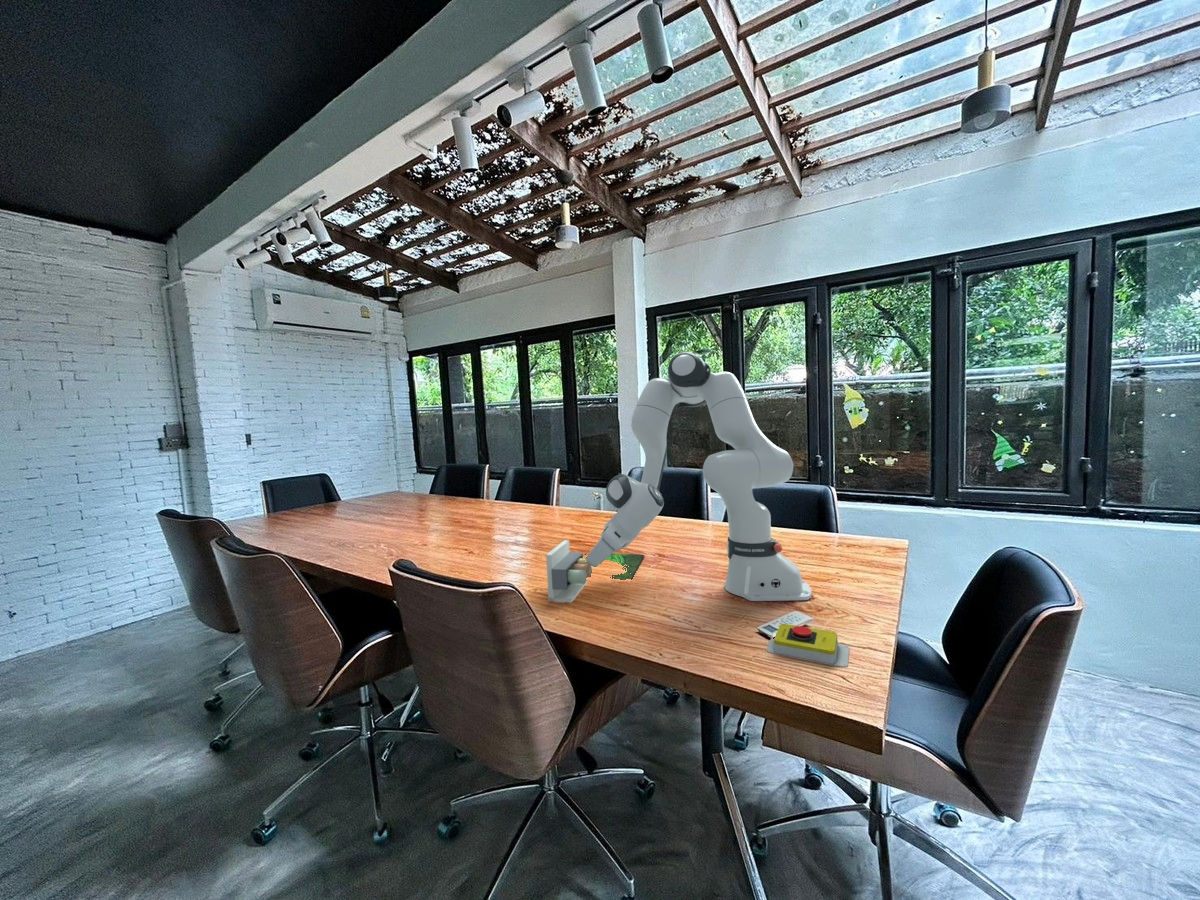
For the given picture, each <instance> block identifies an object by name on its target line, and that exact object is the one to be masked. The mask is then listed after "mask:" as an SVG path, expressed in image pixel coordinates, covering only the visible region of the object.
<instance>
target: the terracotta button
mask: <svg viewBox="0 0 1200 900" xmlns="http://www.w3.org/2000/svg"><path fill="white" fill-rule="evenodd" d="M572 569H573V570H586V574H587V577H591V573H592V567H591V565H590V564H573V565H572Z"/></svg>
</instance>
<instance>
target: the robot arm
mask: <svg viewBox="0 0 1200 900" xmlns="http://www.w3.org/2000/svg"><path fill="white" fill-rule="evenodd" d="M667 376H668V378H661V377H657V378H656V377H655V378H652V379H650V380H649V381H647V383H646V385H645V386H644V388H643V390H642V391H641V394H640V396H639V398H638V401H637V402H636V404H635V408H634V410H633V414H632V417H631V425H630V426H631V429H632V433H633V435H634V436H635V438H636V439H637V440H638V442H639V444H640V445H641V447H642V450H643V452H644V455H645V463H644V466H643V471H642V474H641V475H642V476H641V480H640V481H638V480H637V479H635V478H633V477H631V476H630V475H626V474H624V473H620V474H617V475H615V476H613V477H612V478H611V479H610V480H609V481H608V483H607V486H606V488H605V489H606V490H605V496H606V500H608V502H609V503H610V504H611V506H613V507H614V508H615V509H616V510H617V512H616V513H615V514H614V515H613V516H612V517H611V518H610V519H608V521H607V523H605V524H604V526H603V531H602V533H601V535H600V538H599V540H598V541H597V542H596V544H595V545H594V546H593V547H592V549H591V550H590V552H588V553H589V554H588V556H587V557H586V560H587V562H586V563H585V564H590V565H591V566H593V567H597V566H598V565H599V564H601V563H602V562H603V561H604V560H605V559H607V558H608V557H609V556H610V555H612V554H615V552H616V553H618V552H619V551H621V550H622V549H624V548H627V547H628V546H629V545H631V543H633V541H634V540H635V539H636V538H637V537H638V536H639V535H640V534H641V533H640V532H641V531H642V530H643V529H645V528H646V527H648V526H649V525H650V524H651V523H652V522H653V521H654V519H656V518H657V517H658V515H659V514H660V512H661V511H662V509H663V507H664V504H665V501H664V497H663V496H662V493H661V492H660V488H661V483H662V478H663V474H664V473H663V472H664V469H665V463H666V458H667V452H668V442H667V433H668V427H669V422H670V419H671V416H672V413H673V410H674V408H675V406H677V407H680V408H686V407H688V408H697V407H701V406H704V405H705V404H706V405H707V408H708V412H709V414H710V418H711V422H712V426H713V429H714V432H715V435H716V436H717V438H718V439H719V440H720V441H722V442H723V443H726V444H728V445H729V446H731V447H732V448H733V449H729V450H727V449H726V450H722V451H719V452H718V451H717V452H715V453H713V454H710V455H707V458H706V459H705V461H704V463H703V465H702V475H703V479H704V481H705V483H706V485H707V486H708V487H709V488H710V489H712V490H713V491H715V492H716V494H717V495H719V496H720V498H721V499H722V501H723V503H724V506H725V508H726V512H727V518H728V519H727V521H728V537H727V542H726V548H727V549H726V550H727V551H726V552H727V558H728V566H727V574H726V579H725V583H724V586H723V587H724V589H725V591H727V592H728V593H730V594H733V595H736V596H739V597H742V598H744V599H745V600H747V601H751V602H773V601H775V602H777V601H778V602H779V601H780V602H781V601H783V602H784V601H809V600H810V599H811V598H812V588H811V586H810V585H809V584H808V583H807V582H806V581H804V580H803V577H802V574H801V571H800V569H799V568H798V566H797V565H796V564H795V563H794V562H793V561H791V560H790V559H789V558H788V557H786V556H784V555H783V554H781V552H782V551H783V547H782V545H781V544H780V543H779V541H778V540H777V539H775V538H772V535H771V534H772V532H771V530H772V529H771V526H772V525H771V521H772V519H771V517H772V516H771V512H770V511H769V509H768V508H767V506H765V505H764V504H763V503H761V502H759V501H756V500H755V499H756V498H755V497H754V494H753V489H762V488H771V487H775V486H779V485H781V484H784V483H787V482H789V480H790V479H791V477H792V475H793V472H794V462H793V459H792V456H791V455H790V453H789V452H788V451H786V450H785V449H783V448H781V447H779V446H777V445H776V444H775V443H773V442H772V441H771V440H770V439H769V438H768V437H767V436H766V435H765V434H764V433H763V432H762V430H761V429H760V428H759V426H758V424H757V423H756V420H755V418H754V416H753V413H752V410H751V408H750V404H749V401H748V399H747V396H746V394H745V391H744V389H743V386H742V385H741V383H740V381H739V380H738V379H737V377H736V376H735V374H734V373H732V372H729V371H718V372H712V369H711V366H710V365H709V364H708V363H706V362H705V361H704V360H703V359H702V358H701V357H699V356H698V355H697V354H695V353H693V352H691V351H682V352H679V353H677V354H675V355H674V356H673V357H672V358H671V359H670V361H669V363H668V367H667Z"/></svg>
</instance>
